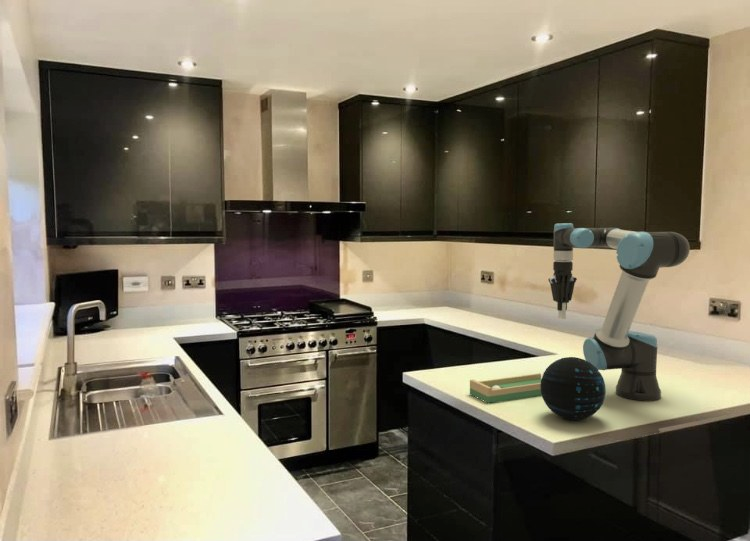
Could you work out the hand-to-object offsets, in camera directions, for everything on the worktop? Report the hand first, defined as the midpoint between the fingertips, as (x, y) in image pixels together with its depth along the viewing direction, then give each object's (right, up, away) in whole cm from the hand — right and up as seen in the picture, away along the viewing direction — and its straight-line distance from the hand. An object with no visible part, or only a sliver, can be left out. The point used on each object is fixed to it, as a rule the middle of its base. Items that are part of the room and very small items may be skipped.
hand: (561, 318), depth 234 cm
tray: (-25, -26, -21) cm, 42 cm away
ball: (-33, -25, -26) cm, 48 cm away
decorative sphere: (-13, -29, -49) cm, 58 cm away
